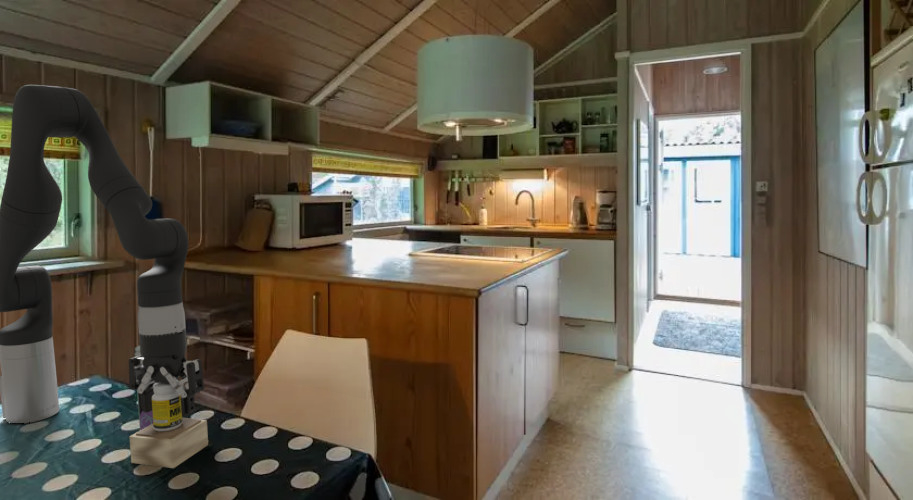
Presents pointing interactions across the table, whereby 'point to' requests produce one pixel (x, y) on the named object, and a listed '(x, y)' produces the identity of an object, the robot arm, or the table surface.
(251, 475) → the table surface
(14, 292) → the robot arm
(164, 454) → the base block
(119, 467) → the table surface
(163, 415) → the supplement bottle
